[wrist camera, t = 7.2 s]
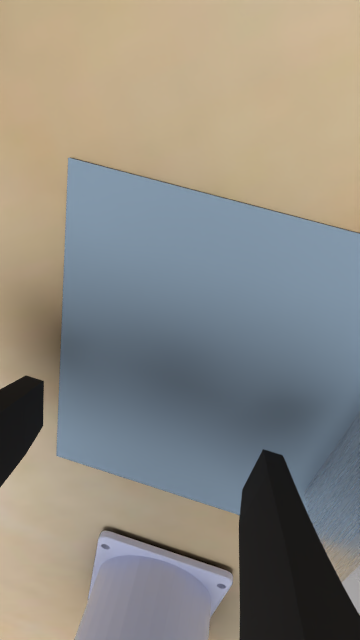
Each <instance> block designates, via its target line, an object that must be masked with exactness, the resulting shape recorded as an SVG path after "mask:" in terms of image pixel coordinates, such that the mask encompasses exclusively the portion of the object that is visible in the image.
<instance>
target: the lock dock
mask: <svg viewBox="0 0 360 640" xmlns="http://www.w3.org/2000/svg"><path fill="white" fill-rule="evenodd" d="M359 412H360V233H356V232H352V231H348V230H345V229H341V228H337V227H333V226H329V225H325V224H322V223H318V222H314V221H310V220H306V219H303V218H299V217H295V216H291V215H287V214H283V213H280V212H276V211H272V210H268V209H264V208H260V207H257V206H253V205H249V204H245V203H241V202H237V201H234V200H230V199H226V198H222V197H218V196H215V195H211V194H207V193H203V192H199V191H195V190H192V189H188V188H184V187H180V186H176V185H172V184H169V183H165V182H161V181H157V180H153V179H149V178H146V177H142V176H138V175H134V174H130V173H127V172H123V171H119V170H115V169H111V168H107V167H104V166H100V165H96V164H92V163H88V162H84V161H81V160H77V159H73V158H68V180H67V205H66V230H65V256H64V281H63V306H62V331H61V356H60V381H59V406H58V431H57V456H59V457H62V458H65V459H68V460H71V461H74V462H77V463H80V464H83V465H86V466H90V467H93V468H96V469H99V470H102V471H105V472H108V473H111V474H114V475H117V476H120V477H124V478H127V479H130V480H133V481H136V482H139V483H142V484H145V485H148V486H151V487H154V488H157V489H161V490H164V491H167V492H170V493H173V494H176V495H179V496H182V497H185V498H188V499H191V500H195V501H198V502H201V503H204V504H207V505H210V506H213V507H216V508H219V509H222V510H225V511H228V512H232V513H235V514H238V515H240V507H241V498H242V489H243V487H244V485H245V483H246V481H247V479H248V477H249V475H250V473H251V471H252V470H253V468H254V466H255V464H256V462H257V460H258V458H259V456H260V454H261V452H262V450H263V449H264V450H268V451H271V452H274V453H277V454H280V455H283V457H284V459H285V461H286V463H287V466H288V468H289V471H290V473H291V476H292V478H293V481H294V483H295V485H296V488H297V490H298V493H299V495H300V497H301V499H302V502H303V504H304V506H305V509H306V511H307V505H306V499H305V493H304V492H305V490H306V489H307V488H308V486H309V485H310V483H311V482H312V480H313V479H314V477H315V476H316V474H317V473H318V471H319V470H320V469H321V467H322V466H323V464H324V463H325V461H326V460H327V458H328V457H329V455H330V454H331V452H332V451H333V450H334V448H335V447H336V445H337V444H338V442H339V441H340V439H341V438H342V436H343V435H344V433H345V432H346V431H347V429H348V428H349V426H350V425H351V423H352V422H353V420H354V419H355V417H356V416H357V414H358V413H359ZM307 513H308V511H307Z"/></svg>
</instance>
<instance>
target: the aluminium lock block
mask: <svg viewBox="0 0 360 640" xmlns="http://www.w3.org/2000/svg"><path fill="white" fill-rule="evenodd" d="M304 493H305V499H306V505H307V511H308V515H309V518H310V520H311V522H312V524H313V526H314V528H315V530H316V533H317V535H318V537H319V539H320V541H321V543H322V545H323V547H324V549H325V551H326V553H327V555H328V557H329V559H330V561H331V563H332V565H333V567H334V569H335V571H336V573H337V575H338V577H339V579H340V581H341V583H342V584H343V586H344V588H345V590H346V592H347V594H348V596H349V597H350V599H351V601H352V603H353V605H354V606H355V608H356V610H357V612H358V613H359V614H360V412H359V413H358V414H357V416H356V417H355V419H354V420H353V422H352V423H351V425H350V426H349V428H348V429H347V431H346V432H345V433H344V435H343V436H342V438H341V439H340V441H339V442H338V444H337V445H336V447H335V448H334V450H333V451H332V452H331V454H330V455H329V457H328V458H327V460H326V461H325V463H324V464H323V466H322V467H321V469H320V470H319V471H318V473H317V474H316V476H315V477H314V479H313V480H312V482H311V483H310V485H309V486H308V488H307V489H306V490H305V492H304Z"/></svg>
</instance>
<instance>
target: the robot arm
mask: <svg viewBox="0 0 360 640" xmlns="http://www.w3.org/2000/svg"><path fill="white" fill-rule="evenodd" d="M43 391H44V381H42V380H39V379H35V378H32V377H29V376H24V377H23V378H21V379H19V380H17V381H15V382H13V383H11V384H9V385H7V386H6V387H4V388H2V389H0V487H1V486H2V484H3V483H4V482H5V480H6V479H7V478H8V477H9V475H10V474H11V473H12V471H13V470H14V469H15V468H16V466H17V465H18V464H19V462H20V461H21V460H22V458H23V457H24V456H25V454H26V453H27V451H28V450H29V448H30V446H31V445H32V443H33V442H34V440H35V438H36V437H37V435H38V433H39V432H40V430H41V428H42V427H43ZM239 569H240V640H360V615H359V613H358V612H357V610H356V608H355V606H354V605H353V603H352V601H351V599H350V597H349V596H348V594H347V592H346V590H345V588H344V586H343V584H342V583H341V581H340V579H339V577H338V575H337V573H336V571H335V569H334V567H333V565H332V563H331V561H330V559H329V557H328V555H327V553H326V551H325V549H324V547H323V545H322V543H321V541H320V539H319V537H318V535H317V533H316V530H315V528H314V526H313V524H312V522H311V520H310V518H309V515H308V513H307V511H306V509H305V506H304V504H303V502H302V499H301V497H300V495H299V493H298V490H297V488H296V485H295V483H294V481H293V478H292V476H291V473H290V471H289V468H288V466H287V463H286V461H285V459H284V457H283V455H280V454H277V453H274V452H271V451H268V450H264V449H263V450H262V452H261V454H260V456H259V458H258V460H257V462H256V464H255V466H254V468H253V470H252V471H251V473H250V475H249V477H248V479H247V481H246V483H245V485H244V487H243V489H242V498H241V507H240V519H239ZM232 583H233V575H232V574H231V573H230V572H229V571H227V570H224V569H221V568H218V567H215V566H212V565H209V564H206V563H203V562H200V561H197V560H194V559H191V558H188V557H185V556H182V555H179V554H176V553H173V552H170V551H167V550H164V549H161V548H158V547H155V546H152V545H149V544H146V543H143V542H140V541H137V540H134V539H131V538H128V537H125V536H122V535H119V534H116V533H113V532H111V531H102V532H101V534H100V536H99V539H98V544H97V550H96V556H95V562H94V567H93V573H92V579H91V585H90V591H89V596H88V603H87V605H86V608H85V611H84V614H83V616H82V619H81V622H80V625H79V628H78V630H77V633H76V636H75V639H74V640H208V637H209V625H210V618H211V616H212V614H213V613H214V611H215V610H216V608H217V607H218V605H219V604H220V602H221V601H222V599H223V598H224V596H225V595H226V593H227V592H228V590H229V588H230V587H231V585H232Z"/></svg>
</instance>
